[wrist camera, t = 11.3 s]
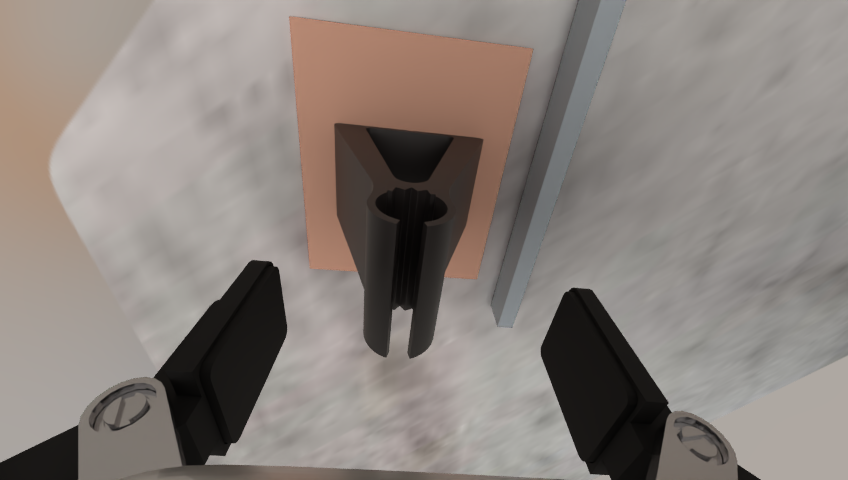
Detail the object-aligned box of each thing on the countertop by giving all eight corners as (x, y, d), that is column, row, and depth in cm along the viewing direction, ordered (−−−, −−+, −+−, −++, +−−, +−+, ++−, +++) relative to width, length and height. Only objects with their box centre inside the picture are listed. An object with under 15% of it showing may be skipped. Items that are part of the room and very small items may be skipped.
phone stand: (482, 138, 20) (557, 237, 10) (465, 222, 24) (508, 363, 13) (335, 121, 20) (255, 210, 9) (337, 211, 23) (278, 353, 12)
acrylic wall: (604, -11, 17) (632, -18, 15) (504, 306, 28) (512, 327, 26) (582, -14, 17) (607, -21, 15) (490, 305, 28) (497, 326, 26)
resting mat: (531, 48, 18) (533, 49, 18) (475, 276, 27) (476, 279, 26) (291, 17, 17) (289, 16, 17) (311, 265, 25) (309, 268, 25)
